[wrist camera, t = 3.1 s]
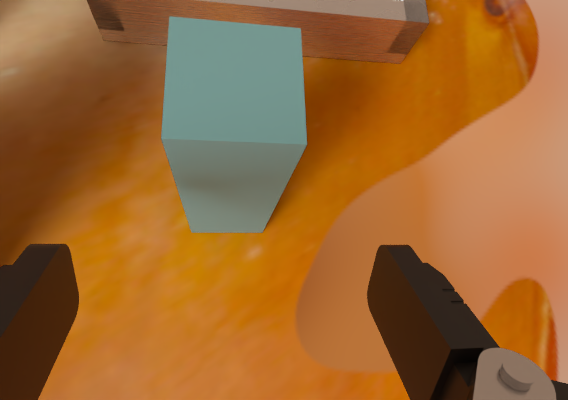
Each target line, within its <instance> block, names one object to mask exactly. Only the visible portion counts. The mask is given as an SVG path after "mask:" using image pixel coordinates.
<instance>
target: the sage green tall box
mask: <svg viewBox="0 0 568 400" xmlns="http://www.w3.org/2000/svg"><path fill="white" fill-rule="evenodd" d="M161 140H162V143H163V146H164V149H165V152H166V155H167V158H168V161H169V164H170V167H171V170H172V173H173V177H174V180H175V183H176V186H177V189H178V192H179V195H180V198H181V201H182V204H183V207H184V210H185V213H186V217H187V220H188V223H189V226H190V229H191V232H207V233H262V232H263V230H264V228H265V226H266V224H267V222H268V220H269V218H270V217H271V215H272V213H273V211H274V209H275V207H276V205H277V203H278V201H279V199H280V197H281V195H282V193H283V191H284V189H285V187H286V185H287V183H288V181H289V179H290V177H291V175H292V173H293V171H294V169H295V167H296V165H297V163H298V162H299V160H300V158H301V156H302V154H303V152H304V150H305V148H306V146H307V132H306V114H305V95H304V77H303V58H302V40H301V28H293V27H282V26H271V25H260V24H249V23H238V22H227V21H216V20H205V19H194V18H183V17H172V16H169V29H168V44H167V59H166V74H165V89H164V104H163V119H162V134H161Z"/></svg>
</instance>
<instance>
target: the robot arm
mask: <svg viewBox="0 0 568 400" xmlns="http://www.w3.org/2000/svg"><path fill="white" fill-rule="evenodd" d="M367 299H368V305H369V309H370V312H371V314H372V316H373V318H374V321H375V323H376V325H377V327H378V329H379V332H380V334H381V336H382V338H383V340H384V343H385V345H386V347H387V349H388V351H389V354H390V356H391V358H392V360H393V363H394V364H395V367H396V369H397V371H398V374H399V376H400V378H401V380H402V382H403V385H404V387H405V389H406V391H407V393H408V396H409V398H410V400H568V384H566V383H562V382H557V381H553V380H550V379H549V377H548V376H547V375H546V374H545V372H544V371H543V370H542V369H541V368H540V367H538V366H537V365H536V364H535V363H534V362H532V361H531V360H529V359H528V358H526V357H524V356H523V355H520V354H518V353H516V352H514V351H511V350H507V349H503V348H500V347H499V346H498V345H497V343H496V342H495V341H494V339H493V338H492V337H491V336H490V334H489V333H488V332H487V330H486V329H485V328H484V326H483V325H482V324H481V323H480V321H479V320H478V319H477V318H476V316H475V315H474V314H473V312H472V311H471V310H470V308H469V307H468V306H467V304H464V302H463V299H462V298H461V297H460V296H459V294H458V293H457V292H455V291H454V288H453V286H452V285H451V284H450V282H449V281H448V280H447V279H446V277H445V276H444V275H443V274H442V273H440V272H439V271H438V270H436V269H435V268H434V267H432V266H431V265H430V264H428V263H422V261H421V260H420V259H419V258H418V256H417V255H416V253H415V252H414V250H413V249H412V248H411V247H410V246H409V245H381V246H380V247H379V248H378V251H377V254H376V258H375V262H374V266H373V270H372V273H371V277H370V281H369V285H368V291H367ZM78 305H79V293H78V287H77V282H76V277H75V273H74V268H73V263H72V258H71V253H70V249H69V247H68V246H67V245H66V244H30V245H28V246H27V247H26V249H25V250H24V251H23V252H22V254H21V255H20V256H19V258H18V259H17V260H16V261H15V263H14V264H13V265H3V266H2V267H0V400H38V398H39V396H40V394H41V392H42V389H43V387H44V385H45V383H46V381H47V379H48V376H49V374H50V372H51V370H52V368H53V365H54V363H55V361H56V359H57V357H58V355H59V352H60V350H61V348H62V346H63V344H64V342H65V339H66V337H67V335H68V333H69V331H70V329H71V326H72V324H73V322H74V320H75V318H76V315H77V311H78Z"/></svg>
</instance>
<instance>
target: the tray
mask: <svg viewBox="0 0 568 400" xmlns="http://www.w3.org/2000/svg"><path fill="white" fill-rule="evenodd" d="M87 2H88V4H89V7H90V9H91V12H92V14H93V16H94V19H95V21H96V24H97V26H98V28H99V31H100V33H101V36H102V38H103V40H105V41H118V42H131V43H143V44H156V45H167V44H168V29H169V16H172V17H183V18H194V19H205V20H216V21H227V22H238V23H249V24H260V25H271V26H282V27H293V28H301V40H302V56H310V57H322V58H335V59H348V60H361V61H373V62H386V63H399V64H400V63H401V62H402V61H403V59H404V58H405V56H406V55H407V54H408V52H409V51H410V49H411V48H412V47H413V45H414V44H415V42H416V41H417V40H418V38H419V37H420V35H421V34H422V33H423V31H424V30H425V28H426V27H427V25H428V24H429V19H428V13H427V7H426V1H425V0H87Z"/></svg>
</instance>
